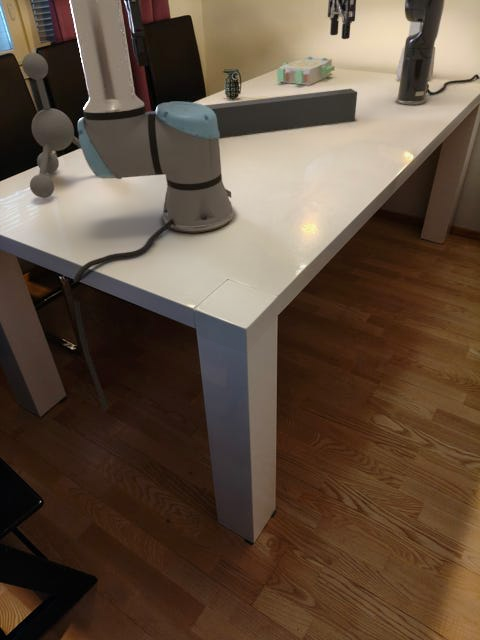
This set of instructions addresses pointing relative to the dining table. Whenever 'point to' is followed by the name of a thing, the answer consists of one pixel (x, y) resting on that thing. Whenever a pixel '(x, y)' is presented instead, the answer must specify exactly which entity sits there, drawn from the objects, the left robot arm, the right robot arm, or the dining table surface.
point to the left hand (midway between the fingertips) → (141, 61)
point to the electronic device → (413, 30)
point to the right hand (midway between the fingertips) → (339, 36)
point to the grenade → (232, 83)
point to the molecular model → (47, 128)
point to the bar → (284, 112)
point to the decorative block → (305, 71)
